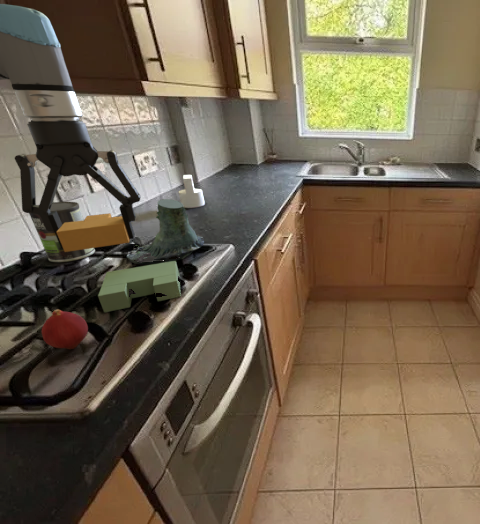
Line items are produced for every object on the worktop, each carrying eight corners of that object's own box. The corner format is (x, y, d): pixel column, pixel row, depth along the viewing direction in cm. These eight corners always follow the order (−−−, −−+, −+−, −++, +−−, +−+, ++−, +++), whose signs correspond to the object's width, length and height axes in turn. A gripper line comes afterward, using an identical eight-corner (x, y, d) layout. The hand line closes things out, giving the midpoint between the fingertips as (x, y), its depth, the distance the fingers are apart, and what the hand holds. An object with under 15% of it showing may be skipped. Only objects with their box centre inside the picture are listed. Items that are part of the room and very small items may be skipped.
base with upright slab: (205, 206, 140) (199, 177, 135) (181, 208, 137) (174, 179, 131) (204, 201, 147) (199, 174, 142) (181, 203, 144) (175, 175, 139)
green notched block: (104, 312, 68) (97, 296, 66) (111, 287, 77) (106, 272, 76) (180, 296, 74) (176, 281, 73) (179, 274, 84) (175, 260, 82)
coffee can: (68, 264, 88) (47, 213, 82) (38, 260, 90) (16, 209, 84) (104, 250, 97) (88, 202, 91) (77, 246, 99) (59, 200, 93)
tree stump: (158, 240, 106) (159, 185, 99) (217, 258, 105) (222, 205, 98) (109, 260, 89) (106, 197, 82) (179, 283, 88) (181, 221, 81)
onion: (50, 347, 58) (31, 308, 55) (91, 333, 62) (75, 296, 58) (53, 364, 54) (33, 324, 51) (96, 348, 58) (80, 309, 55)
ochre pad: (64, 252, 61) (56, 231, 60) (75, 236, 69) (68, 217, 67) (129, 242, 66) (122, 223, 64) (132, 228, 73) (127, 211, 71)
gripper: (-51, 120, 48) (16, 259, 58) (133, 119, 58) (165, 237, 68) (-28, 119, 54) (30, 245, 64) (135, 118, 64) (165, 227, 74)
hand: (100, 241), depth 66 cm, fingers closed on ochre pad, 10 cm apart
